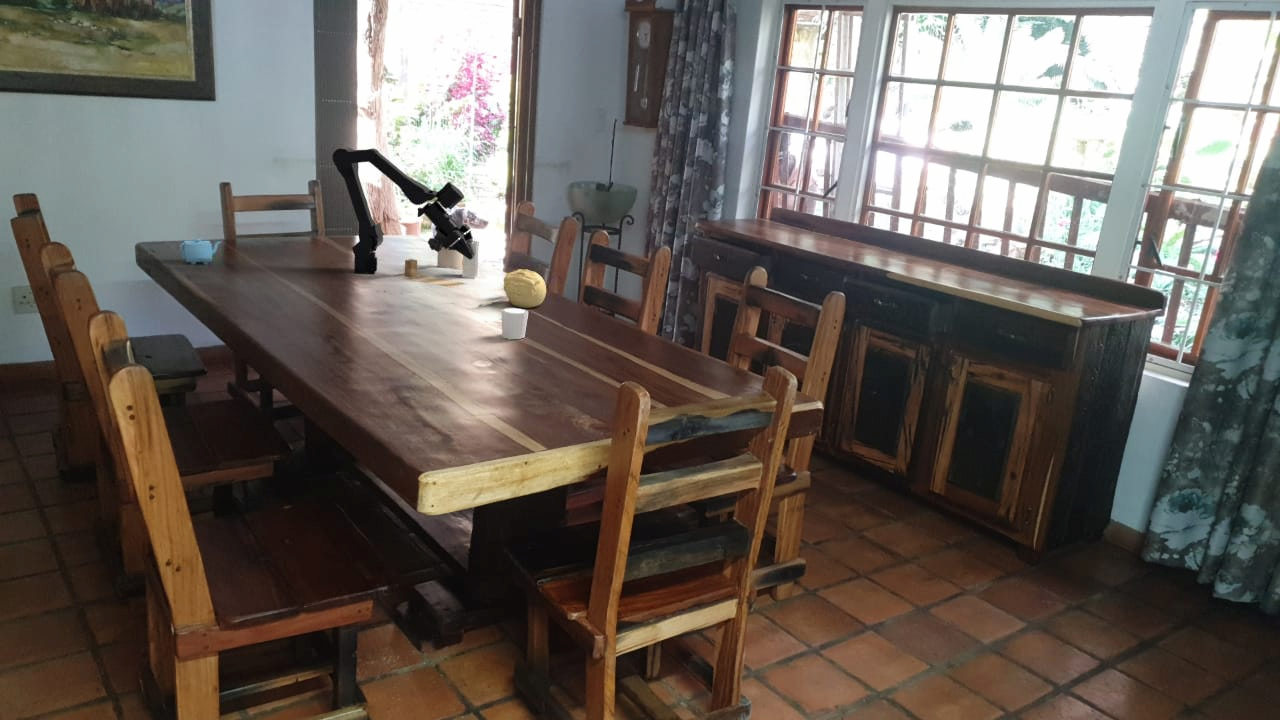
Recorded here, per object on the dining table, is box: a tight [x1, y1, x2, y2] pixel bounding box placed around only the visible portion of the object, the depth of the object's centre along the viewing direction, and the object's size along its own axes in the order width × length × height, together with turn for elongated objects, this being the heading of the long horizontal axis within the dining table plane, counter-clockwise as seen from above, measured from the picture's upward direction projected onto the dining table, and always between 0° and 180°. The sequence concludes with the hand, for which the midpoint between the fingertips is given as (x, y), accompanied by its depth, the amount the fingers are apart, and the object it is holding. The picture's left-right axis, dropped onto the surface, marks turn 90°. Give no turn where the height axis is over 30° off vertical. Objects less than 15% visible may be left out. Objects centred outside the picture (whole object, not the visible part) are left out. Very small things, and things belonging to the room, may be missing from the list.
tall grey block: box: [461, 238, 480, 280], centre depth 296 cm, size 4×5×13 cm
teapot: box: [179, 238, 222, 265], centre depth 288 cm, size 12×6×8 cm, turn 121°
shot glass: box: [500, 307, 529, 340], centre depth 237 cm, size 7×7×7 cm
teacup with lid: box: [437, 246, 463, 271], centre depth 312 cm, size 12×9×12 cm
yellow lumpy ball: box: [503, 268, 547, 309], centre depth 272 cm, size 12×12×11 cm
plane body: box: [396, 258, 468, 289], centre depth 287 cm, size 21×8×6 cm, turn 66°
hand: (474, 256), depth 296 cm, fingers open, 9 cm apart
